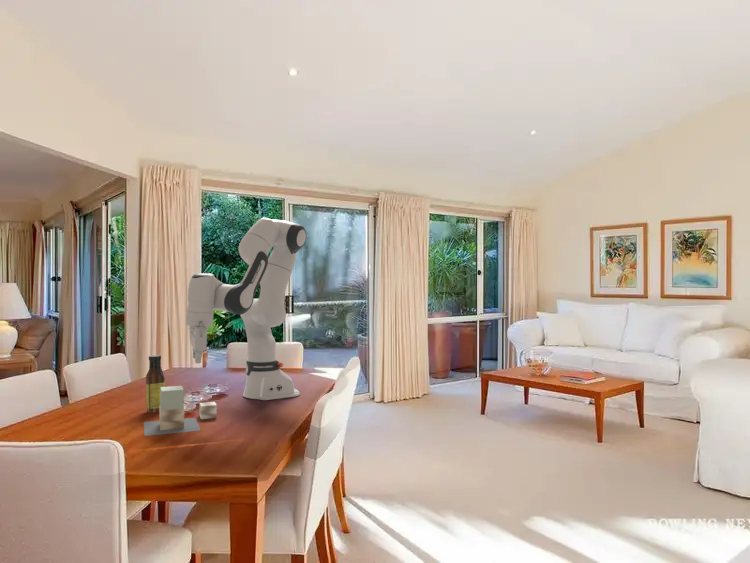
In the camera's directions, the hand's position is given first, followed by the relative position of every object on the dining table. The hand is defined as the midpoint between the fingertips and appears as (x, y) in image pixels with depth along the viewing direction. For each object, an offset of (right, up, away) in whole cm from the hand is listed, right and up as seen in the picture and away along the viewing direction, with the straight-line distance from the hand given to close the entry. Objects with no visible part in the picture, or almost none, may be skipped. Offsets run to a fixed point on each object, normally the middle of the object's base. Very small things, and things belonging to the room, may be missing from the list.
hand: (196, 360), depth 184 cm
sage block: (-3, -13, -14) cm, 19 cm away
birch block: (-3, -19, -14) cm, 23 cm away
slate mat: (-3, -19, -14) cm, 24 cm away
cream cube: (+4, -20, -2) cm, 20 cm away
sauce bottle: (-16, -19, +6) cm, 26 cm away
